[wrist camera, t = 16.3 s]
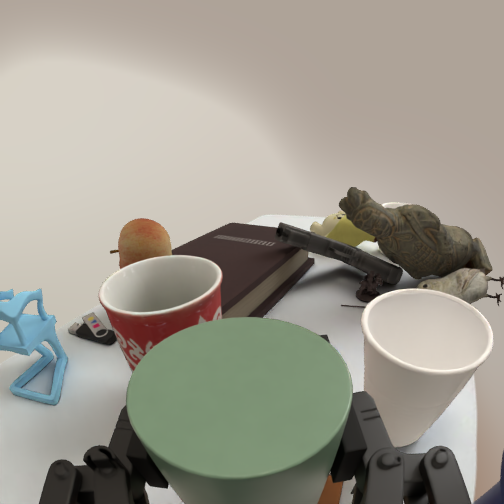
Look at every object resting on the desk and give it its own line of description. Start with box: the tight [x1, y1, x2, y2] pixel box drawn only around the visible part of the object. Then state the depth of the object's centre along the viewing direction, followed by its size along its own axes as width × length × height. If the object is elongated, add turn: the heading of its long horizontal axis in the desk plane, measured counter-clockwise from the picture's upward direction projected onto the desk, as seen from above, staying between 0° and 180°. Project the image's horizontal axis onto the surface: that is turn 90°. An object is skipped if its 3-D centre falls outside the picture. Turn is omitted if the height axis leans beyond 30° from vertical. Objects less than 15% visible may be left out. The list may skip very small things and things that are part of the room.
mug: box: [99, 255, 223, 373], centre depth 23 cm, size 13×9×14 cm
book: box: [172, 223, 315, 319], centre depth 46 cm, size 28×20×6 cm
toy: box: [310, 211, 377, 247], centre depth 59 cm, size 13×7×15 cm
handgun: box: [275, 223, 403, 284], centre depth 43 cm, size 3×19×12 cm
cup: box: [361, 289, 494, 447], centre depth 18 cm, size 10×10×11 cm
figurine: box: [341, 271, 382, 308], centre depth 40 cm, size 5×8×4 cm
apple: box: [110, 218, 172, 269], centre depth 36 cm, size 8×8×8 cm
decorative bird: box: [416, 268, 504, 305], centre depth 35 cm, size 5×16×8 cm
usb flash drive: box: [68, 313, 117, 344], centre depth 36 cm, size 9×5×1 cm, turn 76°
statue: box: [339, 187, 492, 279], centre depth 39 cm, size 11×9×30 cm
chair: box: [0, 289, 68, 405], centre depth 24 cm, size 8×8×12 cm
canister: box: [126, 317, 353, 504], centre depth 9 cm, size 6×6×10 cm
